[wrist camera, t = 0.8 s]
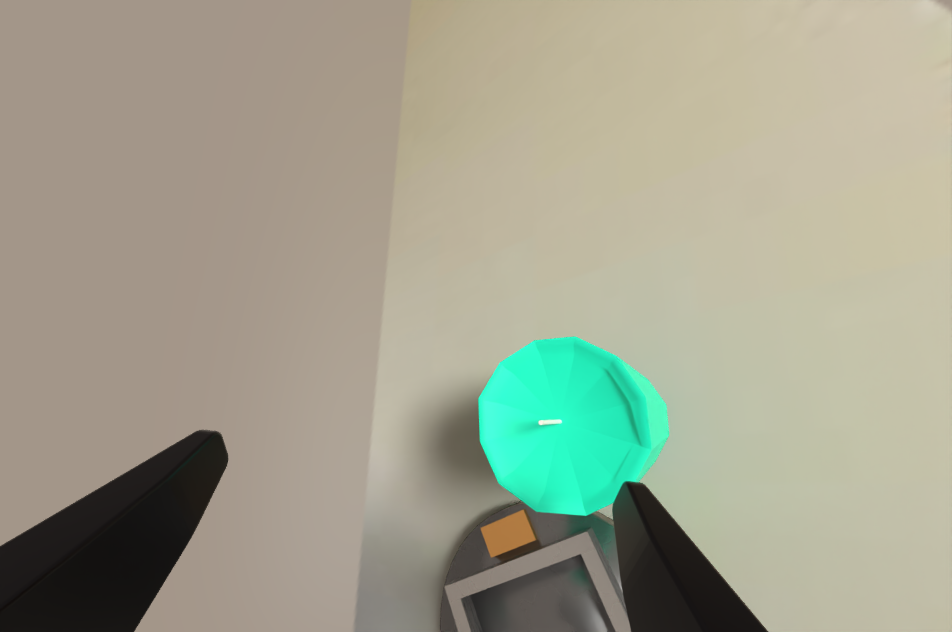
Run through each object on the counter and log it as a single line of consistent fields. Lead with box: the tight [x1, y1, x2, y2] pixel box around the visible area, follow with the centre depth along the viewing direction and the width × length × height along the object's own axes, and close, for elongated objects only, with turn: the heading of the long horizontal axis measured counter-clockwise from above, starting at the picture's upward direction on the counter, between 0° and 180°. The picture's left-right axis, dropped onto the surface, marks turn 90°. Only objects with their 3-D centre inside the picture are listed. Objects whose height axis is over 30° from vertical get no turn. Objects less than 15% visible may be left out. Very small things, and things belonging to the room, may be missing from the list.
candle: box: [478, 337, 669, 516], centre depth 17 cm, size 6×6×12 cm
